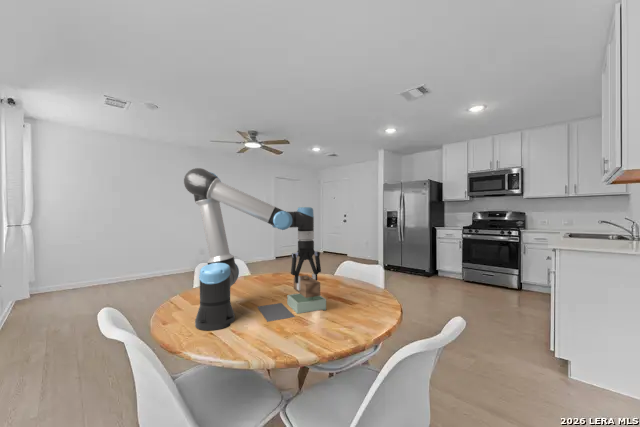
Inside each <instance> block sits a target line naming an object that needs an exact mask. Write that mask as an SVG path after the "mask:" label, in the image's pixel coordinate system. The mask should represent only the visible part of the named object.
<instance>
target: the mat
mask: <svg viewBox="0 0 640 427" xmlns="http://www.w3.org/2000/svg"><path fill="white" fill-rule="evenodd" d="M256 307H257V309H258V311H259V312H260V314H262V316H263V318H264V319H265V320H266V322H267V323H268V322H273V321H275V322H276V321H280V320H286V319H291V318H296V316H295V315H294V314H293V313H292V311H290V310H289V309H288V308H287V307H286V306H285V305H284V304H283V303H282V302H280V303H273V304H266V305H258V306H257V305H256Z"/></svg>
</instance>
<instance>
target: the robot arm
mask: <svg viewBox="0 0 640 427" xmlns="http://www.w3.org/2000/svg"><path fill="white" fill-rule="evenodd" d="M183 184H184V187H185V189H186V191H187V192H189V193H190V194H192V195H193V198H194V202H195V204H196V205H198V206H199V209H200V214H201V219H202V224H203V229H204V233H205V238H206V239H205V240H206V243H207V244H206V245H207V250H208V254H209V259H208V260H207V261H206V262H207V264H206V265H204V266H202V267H201V268H200V270H199V274H198V275H199V308H198V310H197V314H196V316H195V320H194V327H195V328H197V329H198V330H200V331H215V330H221V329H224V328H227V327H229V326H231V324H232V323H234V322H235V319H236V316H235V314H236V313H235V312H234V309H233V305H232V303H231V287H232V286H233V285H234V284H236V282H237V280H238V278H239V276H240V275H239V274H240V270H239V266H238V264H237V263H236V260H235V257H234V255H233V254H232V253H230V249H229V243H228V238H227V234H226V228H225V224H224V219H223V214H222V209H221V208H222V207H221V203H222V204H224V205H226V206H229V207H230V208H232V209H235V210H237V211H240V212H242V213H245V214H247V215H248V216H251V217H253V218H256V219H258V220H260V221H263V222H265V223H266V224H270V225H271V227H272V228H275V229H278V230H282V231H283V230H287V229H289V228H292V229H293V228H297V239H298V240H297V251H296V252H292V253H291V268H290V274H291V275H292V276H294V277H295V283H297V290H299V291H300V276H301V275H300V272H301V269H302V266H303V263H304V262H305V261H306V260H308V261H309V264H310V268H311V270H312V272H313V273H311V278H313V279H315V280H317V281H318V275H319V273H322V268H321V260H320V255H321V252H320V251H318V250H317V251H316V250H315V240H314V239H315V237H314V236H315V233H314V229H315V228H314V227H315V226H314V225H315V223H314V222H315V216H314V208H312V207H310V206H305V207H303V206H302V207H300V206H299V207H297V210H296V211H286V210H283V209H281V208H278V207H277V206H274V205H272V204H271V203H269V202H265V201H264V200H261V199H260V198H257V197H254V196H252V195H251V194H248V193H245V192H244V191H242V190H239V189H237V188H235V187H232V186H231V185H228V184H226V183H224V182H222V181H221V179H220V178H219V177H218V175H216V174H215V173H214V172H210V171H208V170H206V169H204V168H200V167H196V168H192V169H190V170H189V171H187V173H186V174H185V175H184V178H183ZM298 257H299V258H298ZM313 257H314V258H313ZM297 258H298V259H297ZM314 259H315V262H314ZM297 260H298V262H297Z"/></svg>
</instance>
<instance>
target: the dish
mask: <svg viewBox="0 0 640 427" xmlns="http://www.w3.org/2000/svg"><path fill="white" fill-rule="evenodd" d="M286 297H287V303H286V305H288V306H289V308H290V309H292V310H293V311H294V312H295V313H296V314H297V315H298V314H299V315H300V314H304V313H310V312H317V311H327V298H325V297H323V296H322V295H320V296H315V297H308V298H305V297H304V296H303V295H301V294H300V293H299V292H298V293H292V294H287V296H286Z"/></svg>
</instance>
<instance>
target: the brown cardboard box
mask: <svg viewBox="0 0 640 427" xmlns="http://www.w3.org/2000/svg"><path fill="white" fill-rule="evenodd" d="M299 276H300V291H299V290H297V283H295V276H293V290H294V291H296V292H297V293H298V294H299V293H300V294H301V295H303V296H304V297H305V298H308V297H315V296H321V282H320V281H319V280H318V279H317V280H315V279H313V278H312V276H309V275H308V274H306V275H305V274H304V275H299Z"/></svg>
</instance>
